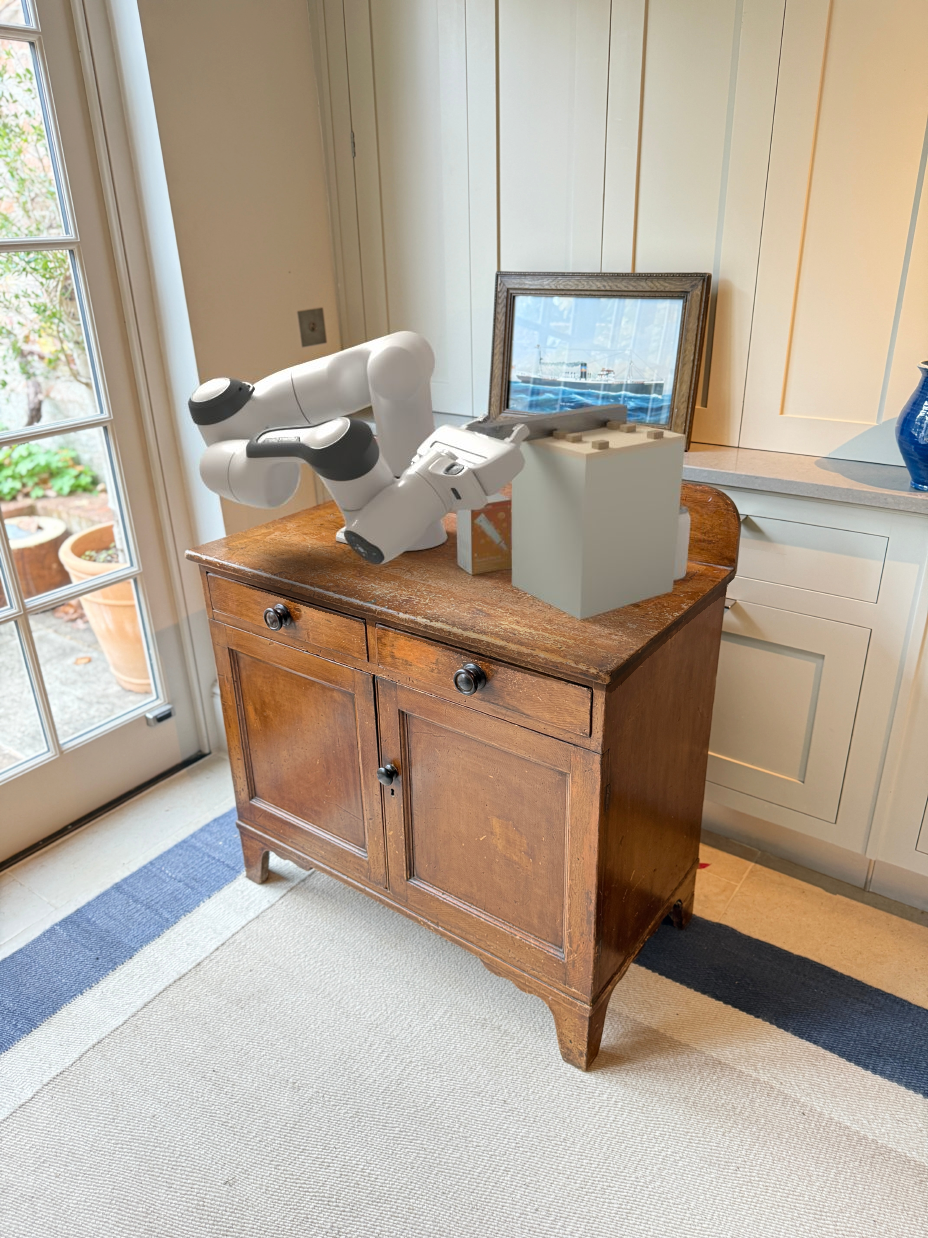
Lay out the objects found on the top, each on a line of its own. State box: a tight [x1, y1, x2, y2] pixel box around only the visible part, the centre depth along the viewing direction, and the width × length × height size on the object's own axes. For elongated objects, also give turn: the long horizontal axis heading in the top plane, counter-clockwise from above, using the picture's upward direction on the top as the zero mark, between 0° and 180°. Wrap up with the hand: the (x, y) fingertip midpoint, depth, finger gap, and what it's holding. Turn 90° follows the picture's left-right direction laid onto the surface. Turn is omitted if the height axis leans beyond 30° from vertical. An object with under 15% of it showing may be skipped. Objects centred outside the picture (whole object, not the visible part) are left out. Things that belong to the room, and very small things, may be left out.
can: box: [673, 504, 692, 582], centre depth 145 cm, size 6×6×12 cm
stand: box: [511, 421, 686, 621], centre depth 137 cm, size 20×18×27 cm
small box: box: [456, 491, 512, 576], centre depth 151 cm, size 8×6×13 cm
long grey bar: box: [474, 402, 628, 442], centre depth 132 cm, size 28×3×3 cm, turn 123°
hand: (506, 422), depth 127 cm, fingers open, 8 cm apart
